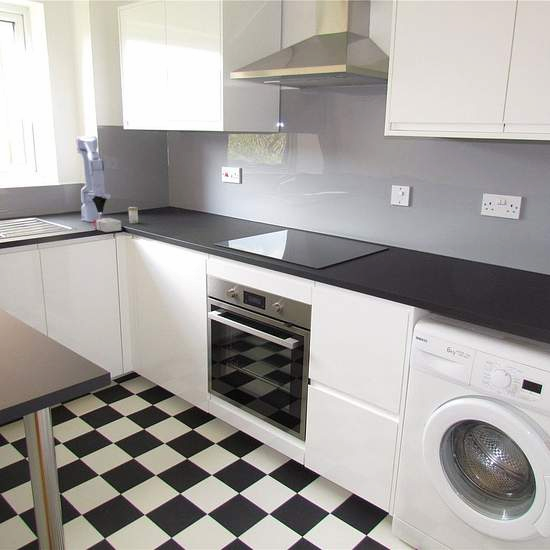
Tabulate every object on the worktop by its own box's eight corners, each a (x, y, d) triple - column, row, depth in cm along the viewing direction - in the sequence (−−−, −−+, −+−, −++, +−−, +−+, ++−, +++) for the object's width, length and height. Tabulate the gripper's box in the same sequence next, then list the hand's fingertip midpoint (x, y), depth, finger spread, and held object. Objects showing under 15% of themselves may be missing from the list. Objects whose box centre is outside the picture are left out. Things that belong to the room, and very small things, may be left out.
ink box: (94, 229, 260) (105, 232, 252) (93, 219, 259) (104, 222, 251) (110, 227, 266) (121, 230, 258) (109, 217, 264) (121, 220, 256)
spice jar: (127, 222, 279) (126, 207, 277) (134, 221, 283) (133, 206, 281) (133, 223, 276) (132, 208, 274) (140, 222, 280) (139, 207, 278)
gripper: (81, 184, 259) (84, 211, 263) (101, 186, 251) (103, 214, 255) (93, 183, 265) (96, 210, 268) (113, 184, 257) (115, 212, 260)
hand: (100, 212), depth 262 cm, fingers closed
